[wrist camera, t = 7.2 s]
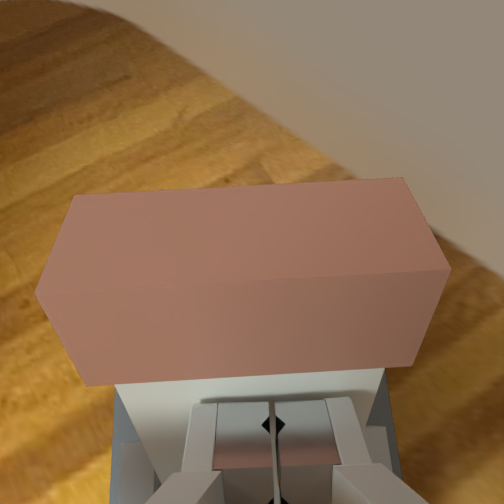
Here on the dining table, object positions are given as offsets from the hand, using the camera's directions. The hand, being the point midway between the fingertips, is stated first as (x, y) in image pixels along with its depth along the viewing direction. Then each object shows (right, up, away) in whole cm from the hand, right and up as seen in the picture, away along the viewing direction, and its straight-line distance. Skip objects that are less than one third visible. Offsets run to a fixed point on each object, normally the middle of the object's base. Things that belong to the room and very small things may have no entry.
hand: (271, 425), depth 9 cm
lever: (0, -4, +5) cm, 7 cm away
